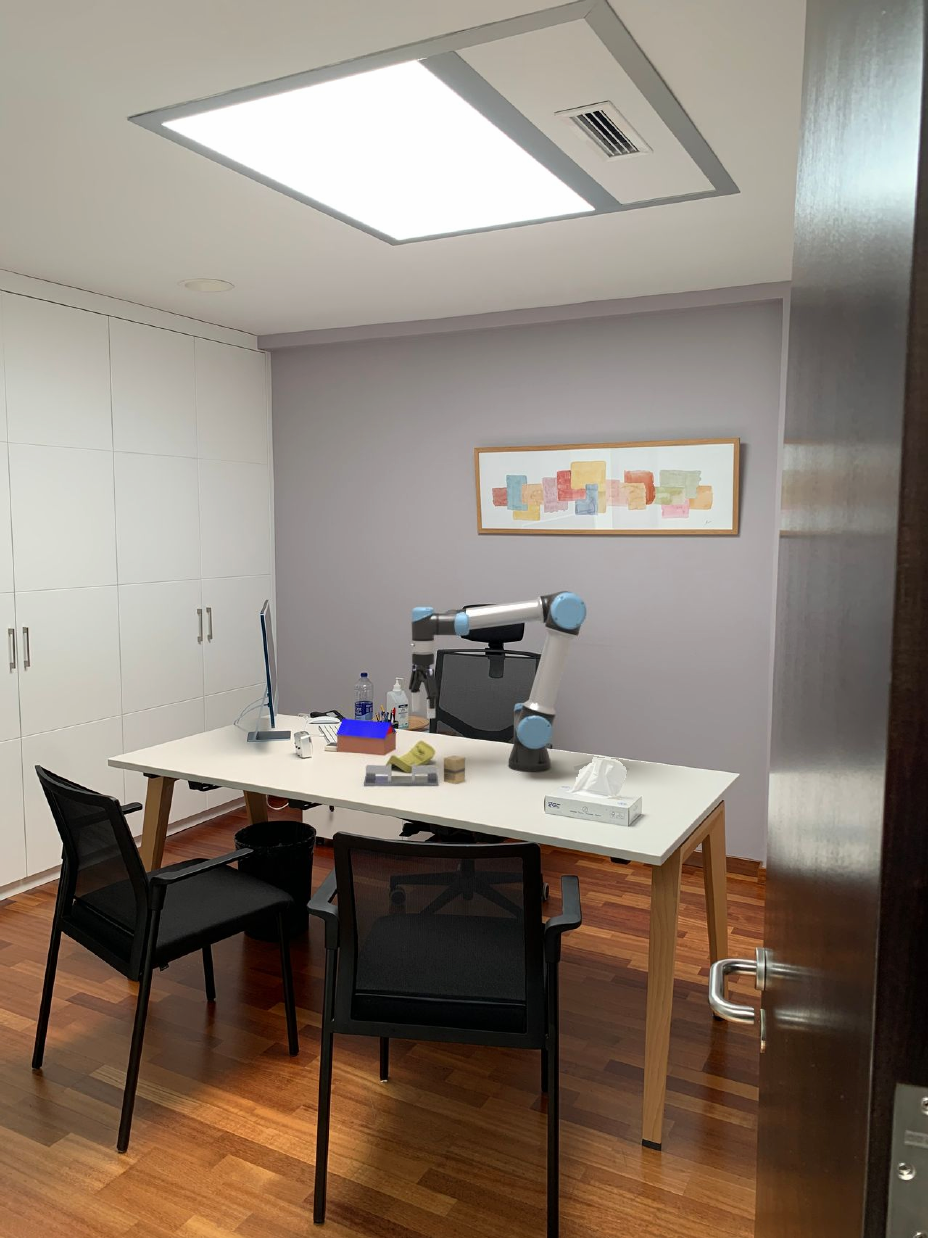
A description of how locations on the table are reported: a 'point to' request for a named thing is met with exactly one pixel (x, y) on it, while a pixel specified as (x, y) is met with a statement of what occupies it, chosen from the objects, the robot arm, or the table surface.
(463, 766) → the banded wooden block
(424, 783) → the shaft bench
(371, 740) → the house
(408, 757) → the plastic component
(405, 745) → the table surface
